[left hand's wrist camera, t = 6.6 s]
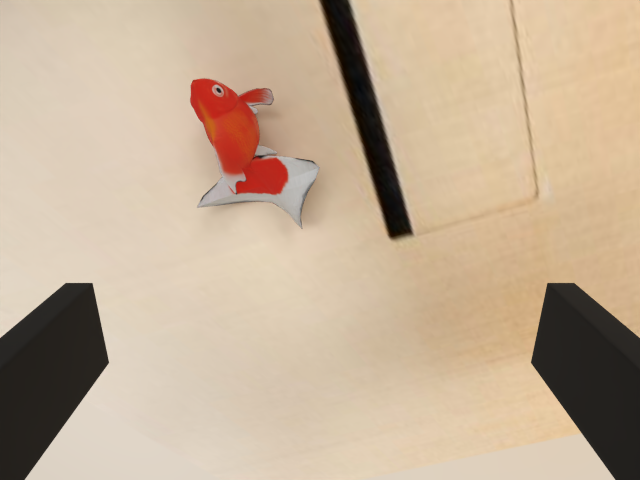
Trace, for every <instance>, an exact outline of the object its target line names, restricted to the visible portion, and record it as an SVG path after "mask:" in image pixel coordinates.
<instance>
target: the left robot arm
mask: <svg viewBox="0 0 640 480" xmlns="http://www.w3.org/2000/svg"><path fill="white" fill-rule="evenodd" d="M108 363H109V361H108V356H107V351H106V346H105V341H104V336H103V332H102V327H101V322H100V317H99V312H98V308H97V303H96V298H95V293H94V288H93V283H65V284H64V285H63V286H62V287H61V288H59V289H58V290H57V291H56V292H55V293H54V294H52V295H51V296H50V297H49V298H48V299H46V300H45V301H44V302H43V303H42V304H40V305H39V306H38V307H37V308H36V309H34V310H33V311H32V312H31V313H30V314H28V315H27V316H26V317H25V318H24V319H22V320H21V321H20V322H19V323H18V324H17V325H15V326H14V327H13V328H12V329H11V330H9V331H8V332H7V333H6V334H5V335H3V336H2V337H1V338H0V480H25V478H26V477H27V476H28V474H29V473H30V471H31V470H32V469H33V467H34V466H35V465H36V463H37V462H38V460H39V459H40V458H41V456H42V455H43V453H44V452H45V451H46V449H47V448H48V447H49V445H50V444H51V442H52V441H53V440H54V438H55V437H56V435H57V434H58V433H59V431H60V430H61V428H62V427H63V426H64V424H65V423H66V422H67V420H68V419H69V417H70V416H71V415H72V413H73V412H74V410H75V409H76V408H77V406H78V405H79V404H80V402H81V401H82V399H83V398H84V397H85V395H86V394H87V392H88V391H89V390H90V388H91V387H92V386H93V384H94V383H95V381H96V380H97V379H98V377H99V376H100V374H101V373H102V372H103V370H104V369H105V368H106V366H107V365H108ZM531 363H532V365H533V366H534V368H535V369H536V370H537V372H538V373H539V374H540V376H541V377H542V379H543V380H544V381H545V383H546V384H547V386H548V387H549V388H550V390H551V391H552V392H553V394H554V395H555V397H556V398H557V399H558V401H559V402H560V404H561V405H562V406H563V408H564V409H565V410H566V412H567V413H568V415H569V416H570V417H571V419H572V420H573V422H574V423H575V424H576V426H577V427H578V428H579V430H580V431H581V433H582V434H583V435H584V437H585V438H586V440H587V441H588V442H589V444H590V445H591V447H592V448H593V449H594V451H595V452H596V453H597V455H598V456H599V458H600V459H601V460H602V462H603V463H604V464H605V466H606V467H607V469H608V470H609V471H610V473H611V474H612V476H613V477H614V478H615V480H640V338H639V337H638V336H637V335H635V334H634V333H633V332H632V331H631V330H629V329H628V328H627V327H626V326H625V325H623V324H622V323H621V322H620V321H619V320H618V319H616V318H615V317H614V316H613V315H612V314H610V313H609V312H608V311H607V310H606V309H604V308H603V307H602V306H601V305H600V304H598V303H597V302H596V301H595V300H594V299H592V298H591V297H590V296H589V295H588V294H586V293H585V292H584V291H583V290H582V289H581V288H579V287H578V286H577V285H576V284H575V283H547V288H546V293H545V298H544V303H543V308H542V312H541V317H540V322H539V327H538V332H537V336H536V341H535V346H534V351H533V356H532V361H531Z"/></svg>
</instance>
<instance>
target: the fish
mask: <svg viewBox="0 0 640 480" xmlns="http://www.w3.org/2000/svg"><path fill="white" fill-rule="evenodd" d="M273 100H274V98H273V94H272V91H271V90H270V89H267V88H262V89H253V90H250V91H248V92H246V93H243V94H241V95H239V96H237V94H236V93H235V92H234V91H233V90H231V89H230V88H228V87H227V86H225V85H223V84H222V83H220V82H218V81H215V80H211V79H205V78H204V79H197V80H193V82H192V84H191V98H190V102H191V105H192V107H193V108H194V110H195V112H196V114H197V116H198V118H199V119H200V121H201V122H203V124H204V127H205V130H206V133H207V136H208V138H209V140H210V142H211V144H212V145H213V147H214V149H215V153H216V156H217V160H218V165H219V169H220V173H221V175H222V177H221V179H220V180H219V181H218V182H217V184H216V185H215V186H213V187H212V188H211V189H210V190H209V191H208V192H207V193H206V194H205V195H204V196H203V197H202V199H201V201H200V203H199V204H198V206H197V208H198V207H208V206H218V205H225V204H232V203H240V202H253V201H261V202H272V203H274V204H275V205H277V206H279V207H280V208H282V209H283V210H285V211H286V212H287V213H288V214H289V215H290V216H291V217H292V219H293V220H294V221H295V222H296V223H297V224H298V225H299V226H300V227H301V228H302V223H301V217H300V216H301V211H302V206H303V203H304V200H305V198H306V195H307V193H308V191H309V189H310V188H311V186H312V184H313V183H314V181H315V179H316V176H317V173H318V170H319V166H318V165H317V164H315V163H314V162H313V161H310V160H304V159H297V158H291V157H282V156H265V155H269V154H277V152H276V151H274V150H272V149H270V148H267V147H265V146H261V145H258V143H259V135H260V134H259V126H258V121H257V118H256V116H255V114H257V113H258V111H257V109H256V108H254V107H252V106H254V105H259V104H264V105H271V104H272V102H273ZM254 155H255V156H256V157H254Z"/></svg>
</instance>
